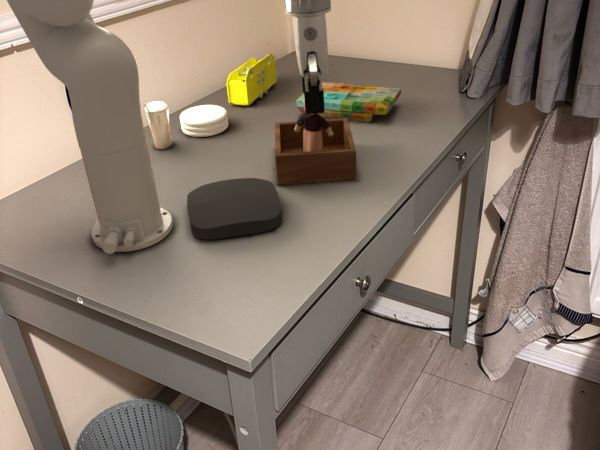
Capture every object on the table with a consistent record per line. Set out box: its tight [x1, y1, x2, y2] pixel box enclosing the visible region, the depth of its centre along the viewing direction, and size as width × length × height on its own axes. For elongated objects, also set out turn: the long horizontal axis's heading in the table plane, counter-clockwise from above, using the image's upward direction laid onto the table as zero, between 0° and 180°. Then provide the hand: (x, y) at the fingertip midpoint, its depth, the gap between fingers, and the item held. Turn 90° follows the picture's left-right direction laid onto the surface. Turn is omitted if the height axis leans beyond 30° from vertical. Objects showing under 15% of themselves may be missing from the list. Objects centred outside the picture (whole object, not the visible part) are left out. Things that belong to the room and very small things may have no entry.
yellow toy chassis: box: [225, 53, 277, 106], centre depth 148 cm, size 16×6×8 cm, turn 158°
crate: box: [274, 118, 357, 186], centre depth 116 cm, size 15×14×6 cm
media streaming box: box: [186, 177, 284, 240], centre depth 103 cm, size 15×15×3 cm
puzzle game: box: [295, 81, 402, 122], centre depth 138 cm, size 12×5×20 cm
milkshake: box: [143, 100, 172, 150], centre depth 126 cm, size 4×5×10 cm
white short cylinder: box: [179, 104, 229, 138], centre depth 134 cm, size 10×10×4 cm
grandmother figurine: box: [294, 97, 333, 152], centre depth 114 cm, size 8×4×13 cm, turn 73°
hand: (313, 102), depth 112 cm, fingers open, 9 cm apart
